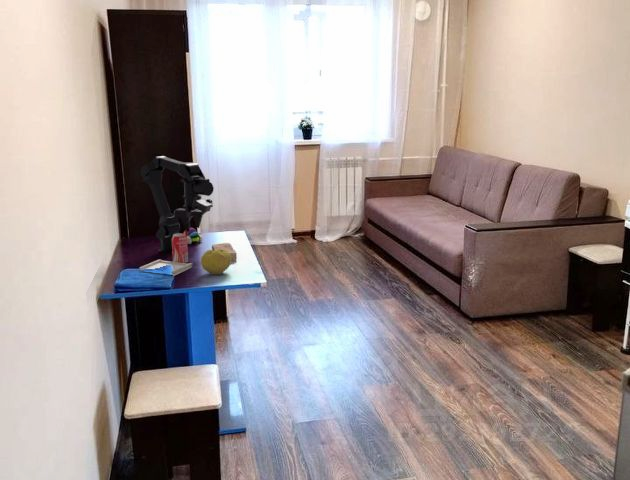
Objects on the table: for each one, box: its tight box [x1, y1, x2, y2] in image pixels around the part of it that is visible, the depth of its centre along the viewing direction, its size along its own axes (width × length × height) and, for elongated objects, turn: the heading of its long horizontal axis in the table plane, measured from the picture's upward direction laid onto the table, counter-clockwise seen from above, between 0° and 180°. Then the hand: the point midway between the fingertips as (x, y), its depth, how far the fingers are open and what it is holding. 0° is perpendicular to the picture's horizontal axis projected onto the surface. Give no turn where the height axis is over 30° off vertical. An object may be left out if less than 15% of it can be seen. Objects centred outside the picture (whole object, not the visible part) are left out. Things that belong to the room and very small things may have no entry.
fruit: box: [200, 249, 232, 276], centre depth 230 cm, size 11×12×10 cm
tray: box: [138, 259, 194, 277], centre depth 237 cm, size 16×13×2 cm
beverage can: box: [172, 232, 189, 264], centre depth 245 cm, size 6×6×12 cm
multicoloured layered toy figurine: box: [183, 227, 203, 245], centre depth 279 cm, size 8×10×7 cm
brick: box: [211, 242, 238, 263], centre depth 254 cm, size 17×8×5 cm, turn 18°
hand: (193, 229), depth 253 cm, fingers open, 7 cm apart
